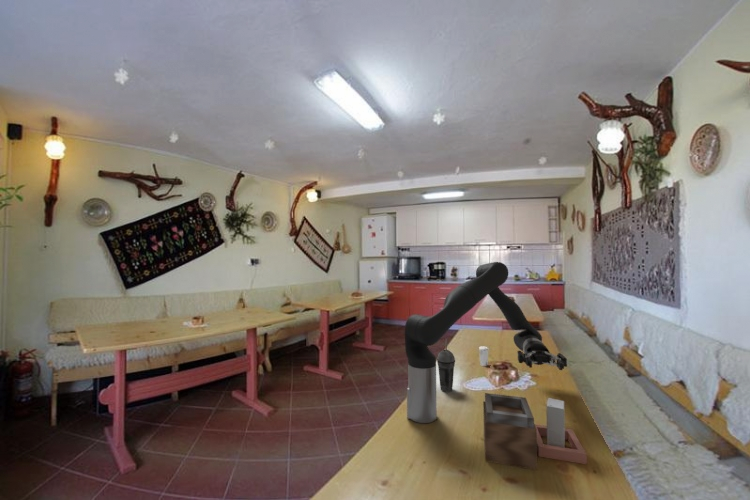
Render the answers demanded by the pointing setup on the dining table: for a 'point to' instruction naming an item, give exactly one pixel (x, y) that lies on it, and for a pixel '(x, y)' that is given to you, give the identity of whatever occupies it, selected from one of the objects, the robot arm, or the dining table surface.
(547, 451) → the lower collar
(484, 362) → the milkshake
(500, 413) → the walnut pedestal
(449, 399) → the dining table surface
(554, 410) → the skincare box
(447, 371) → the beverage cup
